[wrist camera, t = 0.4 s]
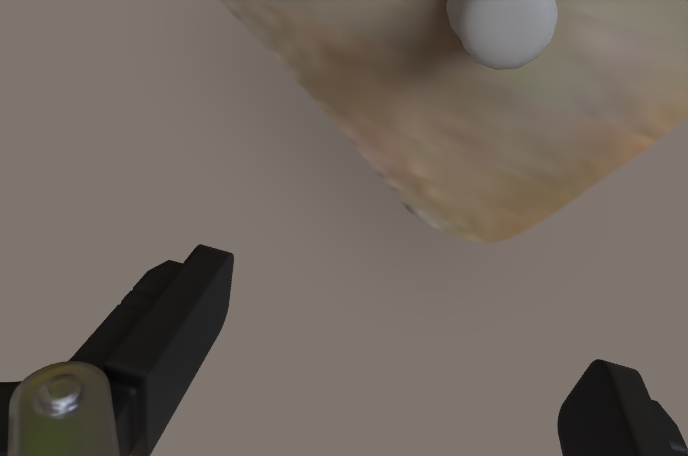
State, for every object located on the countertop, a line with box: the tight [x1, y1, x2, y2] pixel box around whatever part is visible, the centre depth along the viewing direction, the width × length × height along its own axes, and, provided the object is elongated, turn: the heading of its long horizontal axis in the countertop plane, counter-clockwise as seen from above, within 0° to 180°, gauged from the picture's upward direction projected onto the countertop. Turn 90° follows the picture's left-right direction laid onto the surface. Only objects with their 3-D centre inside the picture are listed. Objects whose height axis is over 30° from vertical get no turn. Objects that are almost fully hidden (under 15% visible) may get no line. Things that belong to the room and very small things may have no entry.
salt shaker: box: [446, 0, 558, 70], centre depth 27 cm, size 6×6×13 cm
